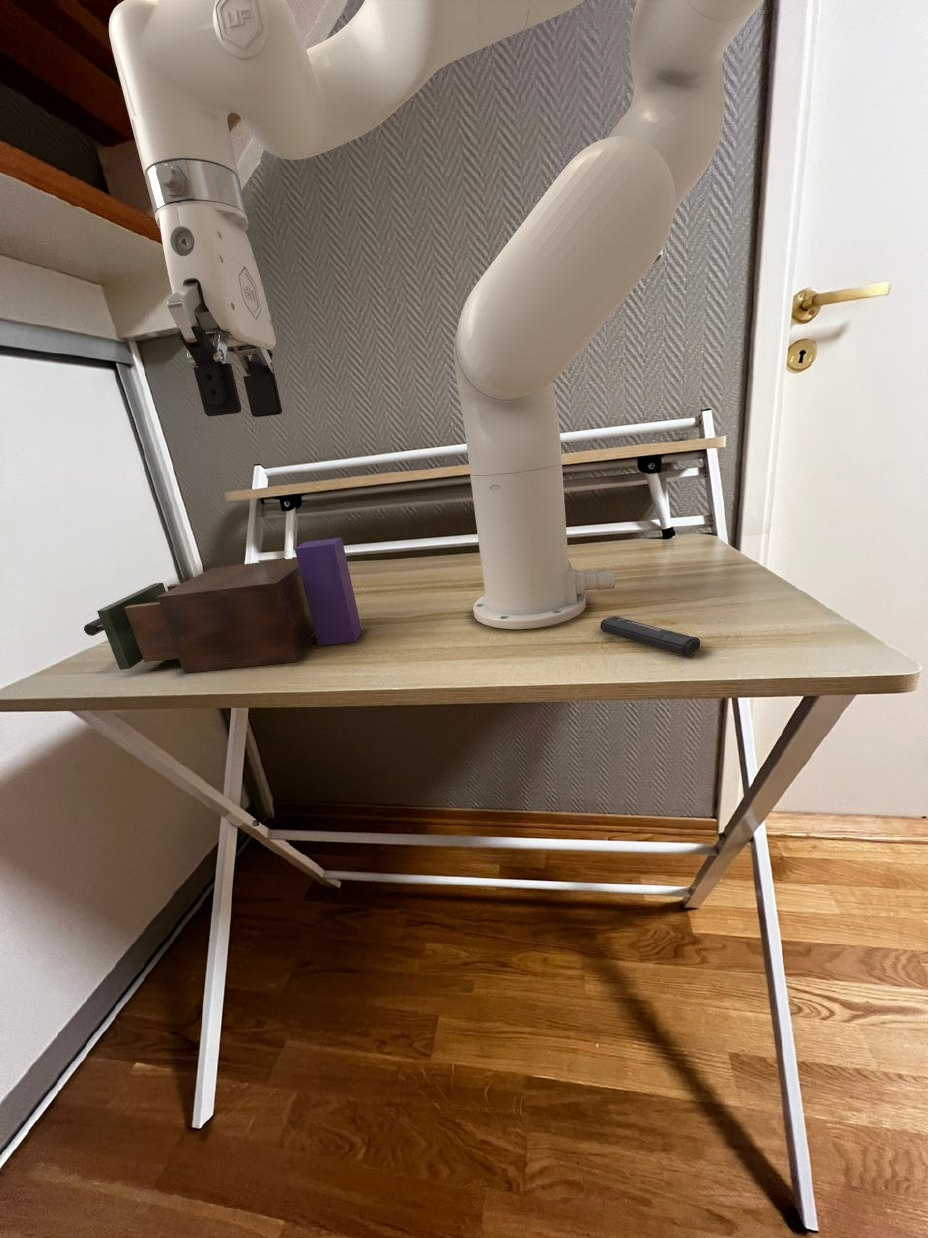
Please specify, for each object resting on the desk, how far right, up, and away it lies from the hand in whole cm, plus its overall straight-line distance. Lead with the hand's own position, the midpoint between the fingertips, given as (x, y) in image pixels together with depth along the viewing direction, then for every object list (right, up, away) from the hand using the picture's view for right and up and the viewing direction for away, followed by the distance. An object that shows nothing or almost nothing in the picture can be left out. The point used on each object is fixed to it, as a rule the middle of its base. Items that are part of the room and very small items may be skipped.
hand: (247, 414), depth 52 cm
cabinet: (-2, -23, +9) cm, 25 cm away
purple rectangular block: (+7, -22, +8) cm, 25 cm away
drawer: (-12, -23, +9) cm, 28 cm away
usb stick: (+38, -22, -4) cm, 44 cm away
